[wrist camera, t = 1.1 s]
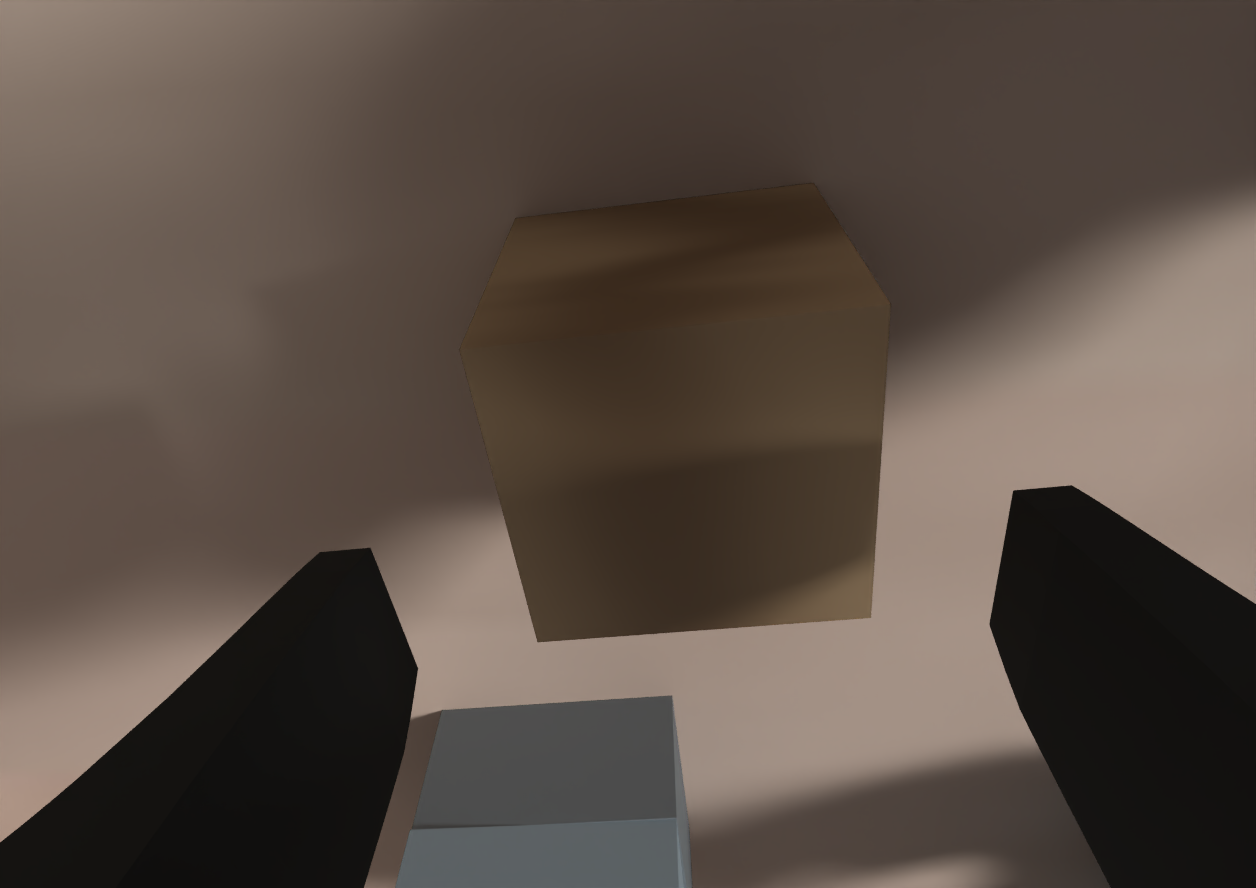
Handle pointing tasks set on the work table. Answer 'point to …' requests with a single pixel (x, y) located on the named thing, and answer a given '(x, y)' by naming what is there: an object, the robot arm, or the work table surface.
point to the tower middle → (545, 856)
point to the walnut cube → (684, 413)
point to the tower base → (557, 767)
